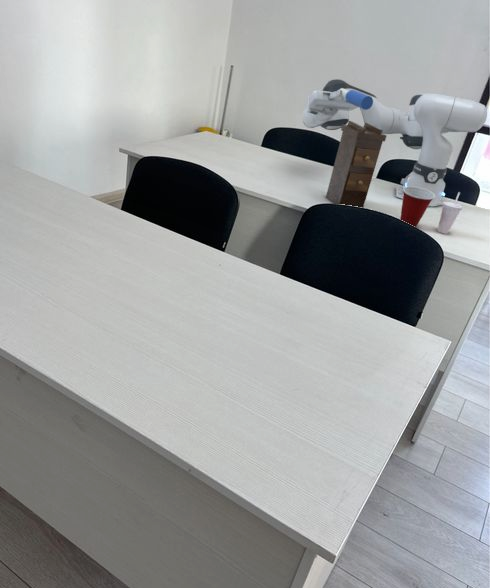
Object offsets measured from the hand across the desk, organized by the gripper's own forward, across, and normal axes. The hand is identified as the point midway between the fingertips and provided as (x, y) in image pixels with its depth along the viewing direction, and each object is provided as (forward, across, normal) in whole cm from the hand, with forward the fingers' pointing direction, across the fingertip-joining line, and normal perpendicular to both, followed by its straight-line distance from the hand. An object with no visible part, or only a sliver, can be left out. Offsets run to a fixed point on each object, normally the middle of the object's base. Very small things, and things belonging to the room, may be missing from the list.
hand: (345, 92), depth 212 cm
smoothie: (+22, -26, -52) cm, 62 cm away
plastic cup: (+17, -15, -50) cm, 55 cm away
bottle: (+5, 0, -6) cm, 7 cm away
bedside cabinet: (0, 0, -40) cm, 40 cm away
